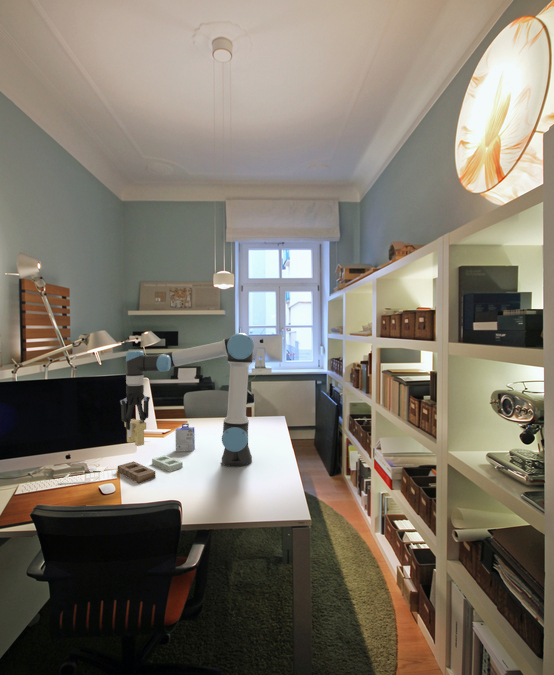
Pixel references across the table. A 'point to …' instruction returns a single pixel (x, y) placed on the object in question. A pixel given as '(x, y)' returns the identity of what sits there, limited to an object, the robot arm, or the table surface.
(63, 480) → the photo frame
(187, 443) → the ink cartridge box
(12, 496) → the table surface
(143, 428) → the tan block
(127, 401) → the robot arm
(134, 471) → the walnut rail
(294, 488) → the table surface
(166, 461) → the holder block
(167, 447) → the table surface
